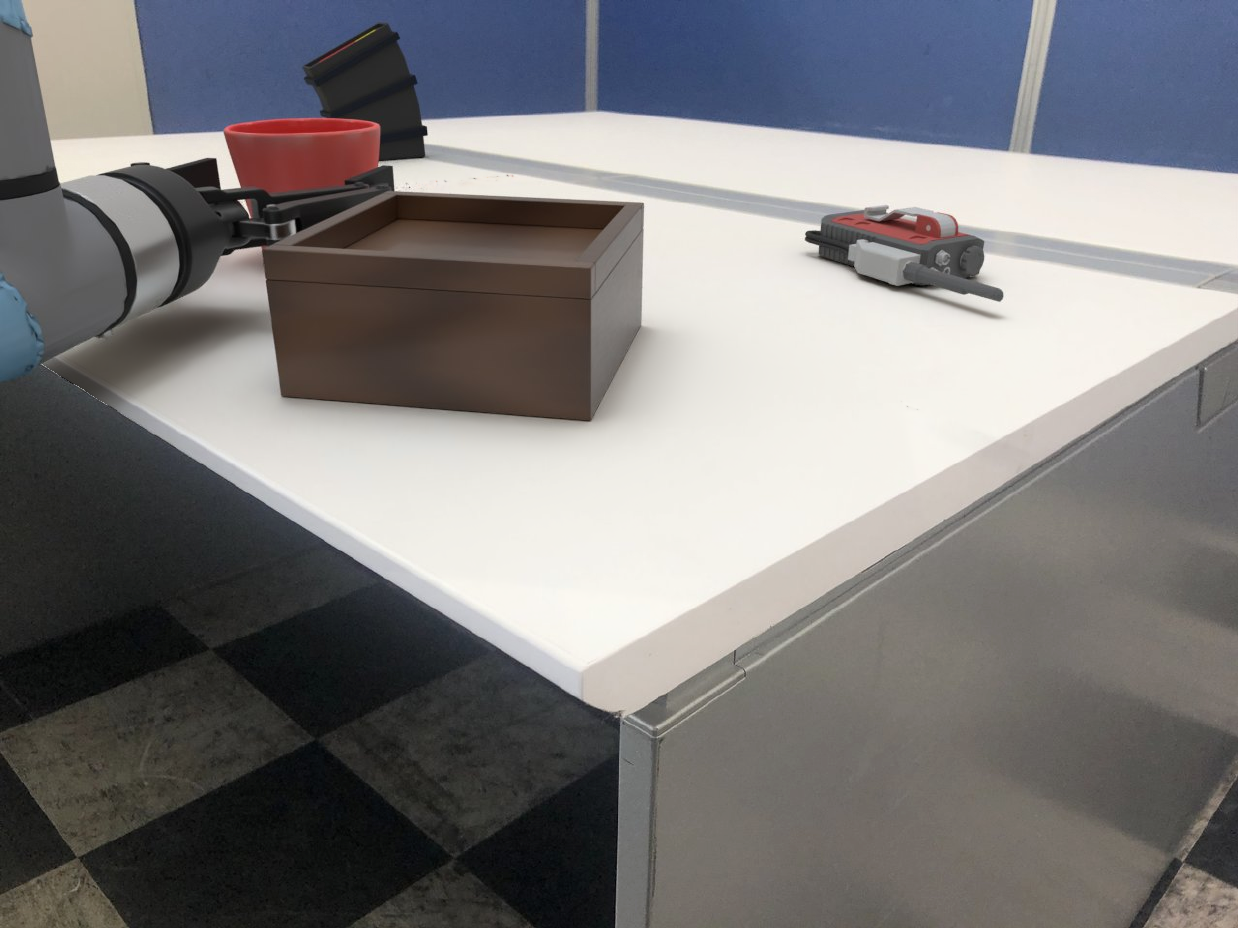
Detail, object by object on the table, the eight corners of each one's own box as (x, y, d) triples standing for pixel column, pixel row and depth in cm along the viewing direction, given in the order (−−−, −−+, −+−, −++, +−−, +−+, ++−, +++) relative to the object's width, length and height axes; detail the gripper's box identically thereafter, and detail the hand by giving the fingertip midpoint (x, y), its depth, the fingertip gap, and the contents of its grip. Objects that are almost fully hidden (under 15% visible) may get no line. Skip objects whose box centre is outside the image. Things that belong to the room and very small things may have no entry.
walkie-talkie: (781, 255, 81) (986, 320, 65) (785, 199, 79) (998, 251, 64) (862, 243, 85) (1072, 301, 70) (868, 189, 83) (1086, 236, 68)
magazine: (451, 141, 126) (392, 22, 117) (362, 197, 122) (294, 78, 113) (438, 138, 128) (380, 20, 119) (351, 192, 125) (284, 76, 116)
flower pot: (258, 242, 83) (241, 116, 79) (396, 240, 84) (386, 116, 80) (227, 275, 73) (206, 134, 69) (383, 273, 74) (371, 133, 70)
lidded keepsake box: (280, 396, 52) (260, 249, 49) (396, 309, 66) (387, 190, 63) (590, 421, 49) (591, 267, 46) (641, 324, 64) (644, 202, 61)
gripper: (-63, 298, 59) (153, 224, 78) (345, 327, 55) (467, 241, 74) (-99, 164, 56) (135, 121, 75) (330, 184, 52) (462, 133, 71)
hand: (300, 180), depth 75 cm, fingers open, 13 cm apart
